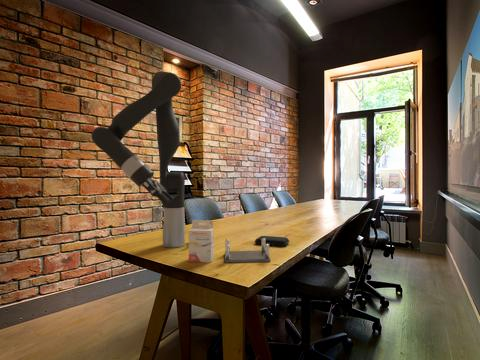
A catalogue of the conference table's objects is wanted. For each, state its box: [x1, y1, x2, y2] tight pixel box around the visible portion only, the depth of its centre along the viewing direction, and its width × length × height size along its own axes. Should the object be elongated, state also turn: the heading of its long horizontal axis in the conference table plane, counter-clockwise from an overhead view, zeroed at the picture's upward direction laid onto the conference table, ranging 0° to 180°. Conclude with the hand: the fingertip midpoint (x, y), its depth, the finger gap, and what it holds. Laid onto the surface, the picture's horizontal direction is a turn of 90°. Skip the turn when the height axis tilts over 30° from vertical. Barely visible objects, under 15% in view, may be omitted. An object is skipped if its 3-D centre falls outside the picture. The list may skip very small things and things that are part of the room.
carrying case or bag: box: [254, 235, 290, 248], centre depth 130 cm, size 11×3×15 cm
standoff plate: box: [224, 238, 271, 264], centre depth 107 cm, size 16×12×6 cm
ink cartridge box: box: [188, 219, 215, 263], centre depth 104 cm, size 9×5×15 cm, turn 84°
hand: (169, 201), depth 103 cm, fingers open, 8 cm apart
